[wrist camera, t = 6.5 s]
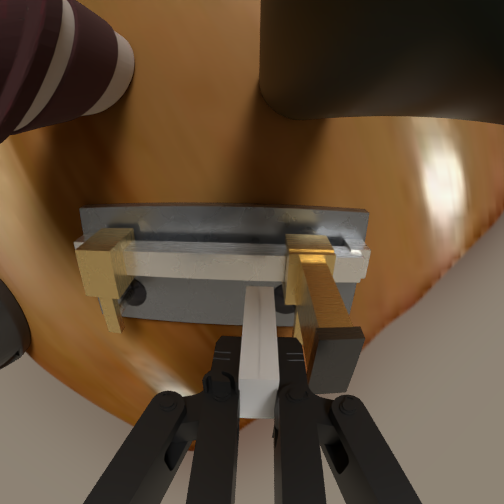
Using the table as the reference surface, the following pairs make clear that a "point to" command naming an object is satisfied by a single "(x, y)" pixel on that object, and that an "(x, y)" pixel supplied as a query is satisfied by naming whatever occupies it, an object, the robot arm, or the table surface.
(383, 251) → the table surface
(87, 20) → the coffee cup
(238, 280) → the trammel plate
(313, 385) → the sliding leg
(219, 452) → the robot arm
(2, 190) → the table surface
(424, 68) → the wine bottle
